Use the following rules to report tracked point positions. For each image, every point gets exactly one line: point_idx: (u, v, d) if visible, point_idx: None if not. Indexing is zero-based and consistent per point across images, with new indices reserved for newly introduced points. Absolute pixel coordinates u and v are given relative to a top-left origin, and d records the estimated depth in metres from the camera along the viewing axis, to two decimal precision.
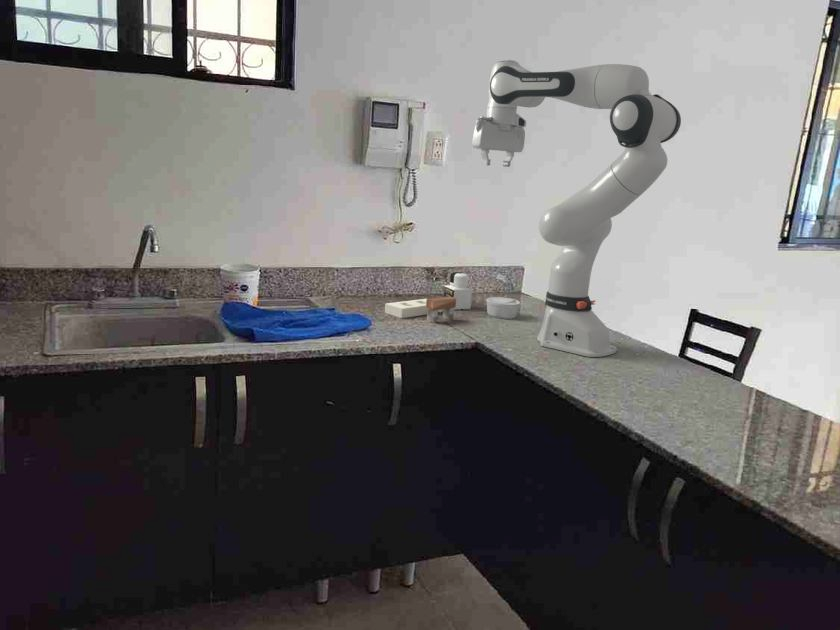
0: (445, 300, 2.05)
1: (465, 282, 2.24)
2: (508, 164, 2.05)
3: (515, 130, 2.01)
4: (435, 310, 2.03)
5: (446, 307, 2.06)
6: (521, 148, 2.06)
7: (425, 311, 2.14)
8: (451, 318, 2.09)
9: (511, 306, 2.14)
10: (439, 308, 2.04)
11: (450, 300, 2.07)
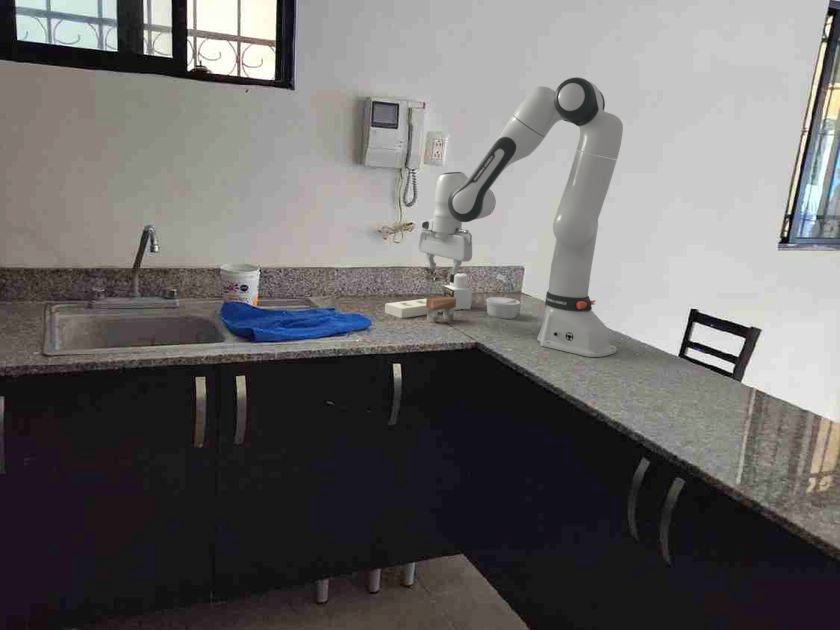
0: (445, 300, 2.05)
1: (465, 282, 2.24)
2: None
3: None
4: (435, 310, 2.03)
5: (446, 307, 2.06)
6: None
7: (425, 311, 2.14)
8: (451, 318, 2.09)
9: (511, 306, 2.14)
10: (439, 308, 2.04)
11: (450, 300, 2.07)
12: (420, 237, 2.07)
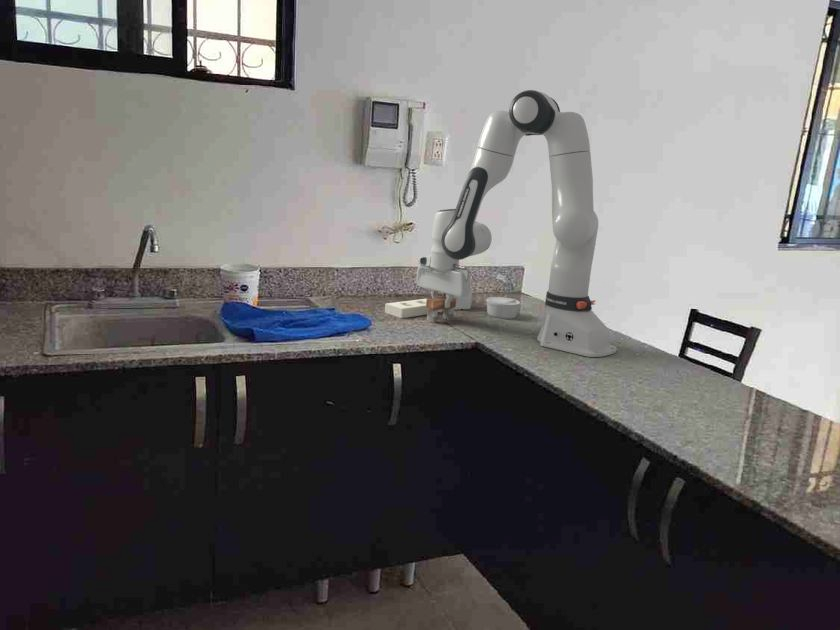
0: None
1: None
2: None
3: None
4: (435, 310, 2.03)
5: None
6: None
7: (425, 311, 2.14)
8: (451, 318, 2.09)
9: (511, 306, 2.14)
10: (439, 308, 2.04)
11: None
12: (418, 272, 2.09)
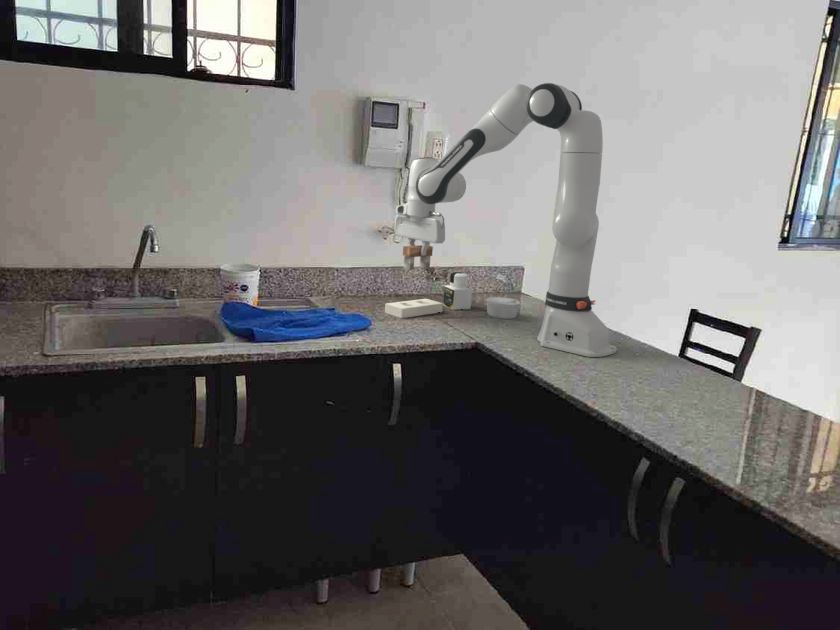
0: None
1: (465, 282, 2.24)
2: None
3: None
4: (411, 257, 2.08)
5: (423, 255, 2.11)
6: None
7: (425, 311, 2.14)
8: (428, 266, 2.14)
9: (511, 306, 2.14)
10: (415, 255, 2.09)
11: (427, 248, 2.12)
12: (396, 221, 2.14)
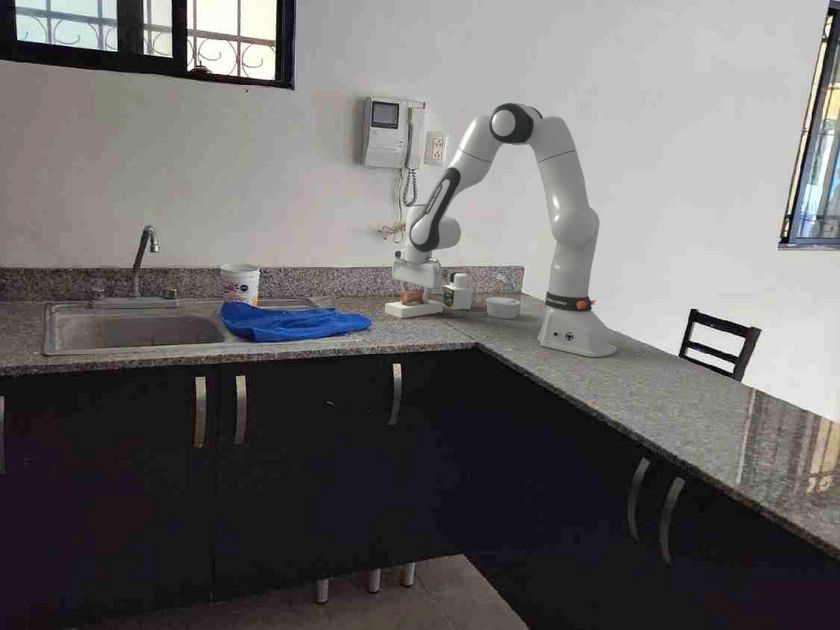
0: (419, 293, 2.13)
1: (465, 282, 2.24)
2: None
3: None
4: (409, 302, 2.11)
5: (420, 300, 2.14)
6: None
7: (425, 311, 2.14)
8: None
9: (511, 306, 2.14)
10: (413, 300, 2.12)
11: None
12: (393, 265, 2.17)
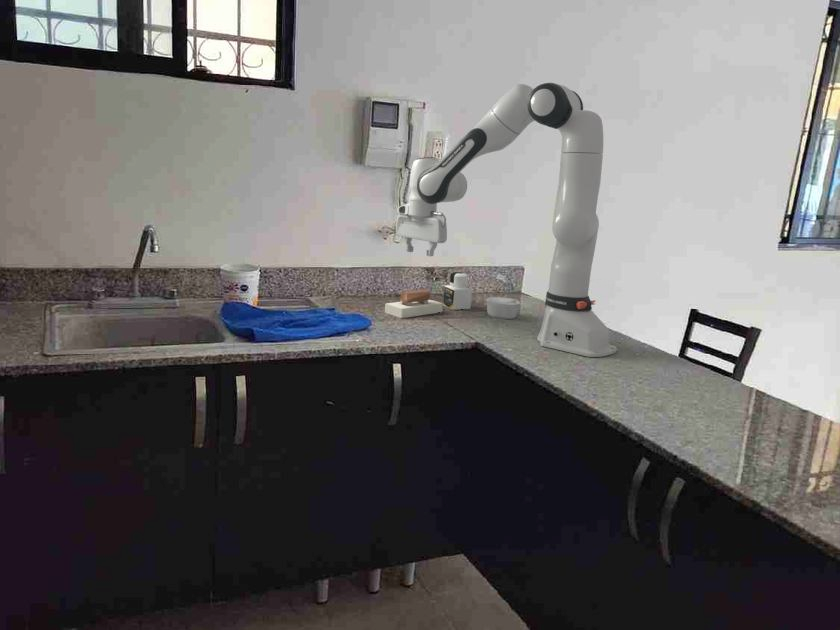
0: (419, 293, 2.13)
1: (465, 282, 2.24)
2: None
3: None
4: (409, 302, 2.11)
5: (420, 300, 2.14)
6: None
7: (425, 311, 2.14)
8: None
9: (511, 306, 2.14)
10: (413, 300, 2.12)
11: (424, 293, 2.15)
12: (397, 222, 2.14)
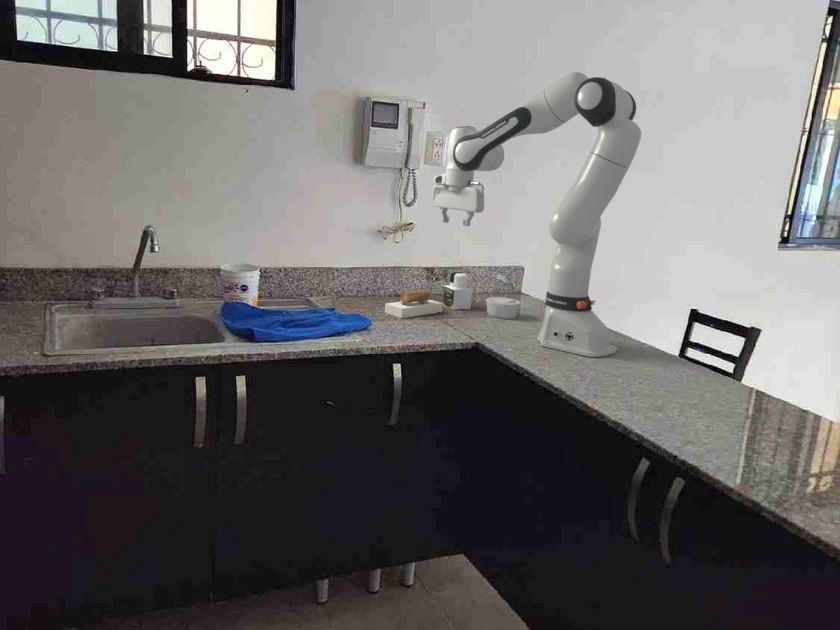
0: (419, 293, 2.13)
1: (465, 282, 2.24)
2: None
3: None
4: (409, 302, 2.11)
5: (420, 300, 2.14)
6: None
7: (425, 311, 2.14)
8: None
9: (511, 306, 2.14)
10: (413, 300, 2.12)
11: (424, 293, 2.15)
12: (433, 192, 2.14)
